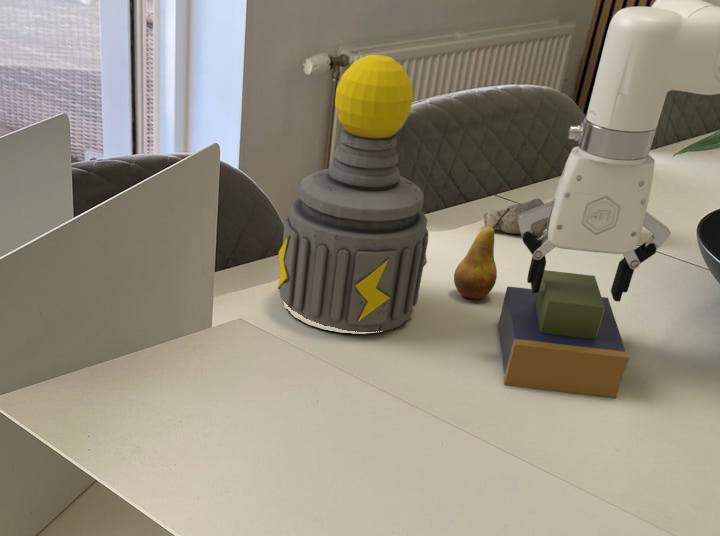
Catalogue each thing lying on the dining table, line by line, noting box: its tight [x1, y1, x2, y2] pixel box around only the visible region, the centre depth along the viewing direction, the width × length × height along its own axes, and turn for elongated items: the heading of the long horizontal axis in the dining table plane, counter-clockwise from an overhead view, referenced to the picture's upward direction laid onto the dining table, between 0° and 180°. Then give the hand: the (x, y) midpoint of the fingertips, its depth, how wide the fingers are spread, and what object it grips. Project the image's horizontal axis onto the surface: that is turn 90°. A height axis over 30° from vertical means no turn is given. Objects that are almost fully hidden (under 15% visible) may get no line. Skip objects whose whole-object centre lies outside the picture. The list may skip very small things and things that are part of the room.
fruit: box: [453, 208, 510, 300], centre depth 135 cm, size 6×6×12 cm
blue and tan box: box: [498, 285, 630, 399], centre depth 124 cm, size 13×18×5 cm
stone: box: [483, 197, 548, 237], centre depth 158 cm, size 10×5×8 cm
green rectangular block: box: [534, 269, 605, 340], centre depth 121 cm, size 7×10×4 cm, turn 171°
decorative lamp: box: [277, 54, 429, 332], centre depth 124 cm, size 19×19×30 cm
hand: (574, 292), depth 120 cm, fingers open, 9 cm apart
